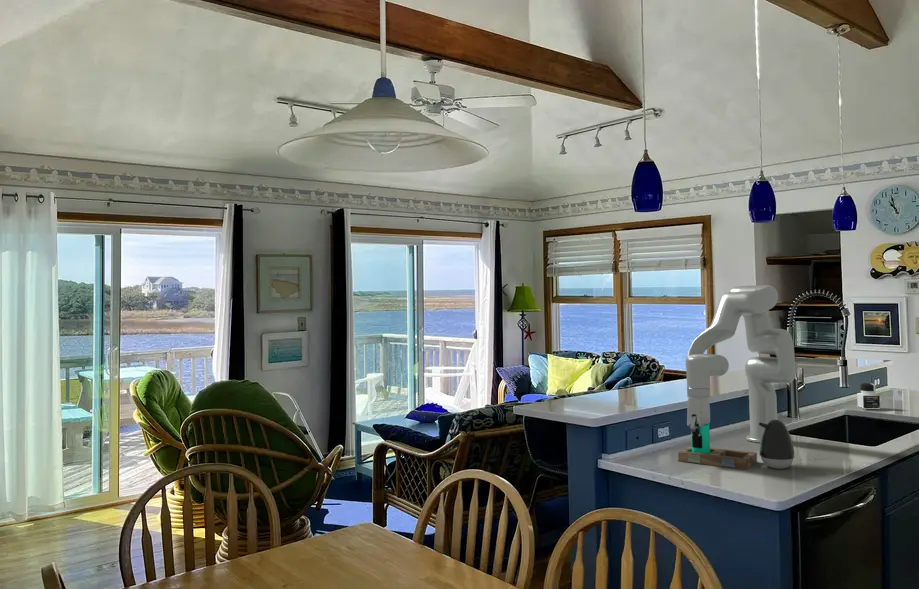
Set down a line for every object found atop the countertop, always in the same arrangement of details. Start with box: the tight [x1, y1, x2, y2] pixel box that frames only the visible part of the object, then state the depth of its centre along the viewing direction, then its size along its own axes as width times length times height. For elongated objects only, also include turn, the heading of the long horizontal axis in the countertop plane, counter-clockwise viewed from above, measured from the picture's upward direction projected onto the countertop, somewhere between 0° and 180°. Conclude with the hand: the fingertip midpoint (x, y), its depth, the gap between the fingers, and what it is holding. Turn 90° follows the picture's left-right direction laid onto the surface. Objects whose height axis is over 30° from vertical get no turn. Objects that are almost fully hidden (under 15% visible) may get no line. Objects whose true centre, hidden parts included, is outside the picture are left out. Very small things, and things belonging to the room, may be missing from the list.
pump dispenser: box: [759, 419, 796, 470], centre depth 219 cm, size 10×10×15 cm
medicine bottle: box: [856, 382, 881, 409], centre depth 319 cm, size 7×7×12 cm
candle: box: [690, 423, 711, 454], centre depth 232 cm, size 6×6×12 cm
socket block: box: [677, 445, 758, 470], centre depth 228 cm, size 12×22×3 cm, turn 52°
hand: (700, 445), depth 232 cm, fingers closed on candle, 5 cm apart
